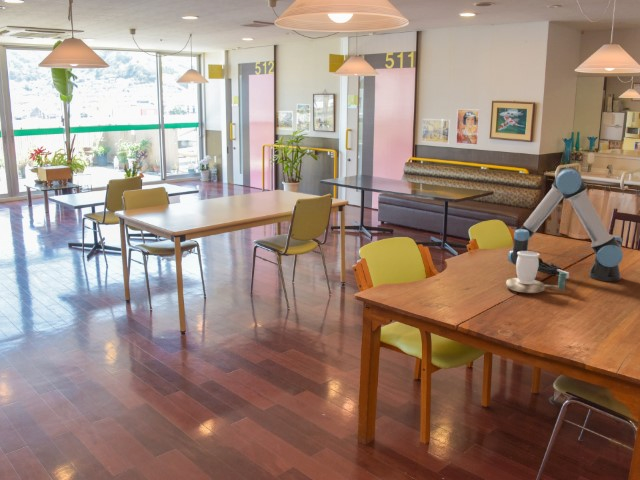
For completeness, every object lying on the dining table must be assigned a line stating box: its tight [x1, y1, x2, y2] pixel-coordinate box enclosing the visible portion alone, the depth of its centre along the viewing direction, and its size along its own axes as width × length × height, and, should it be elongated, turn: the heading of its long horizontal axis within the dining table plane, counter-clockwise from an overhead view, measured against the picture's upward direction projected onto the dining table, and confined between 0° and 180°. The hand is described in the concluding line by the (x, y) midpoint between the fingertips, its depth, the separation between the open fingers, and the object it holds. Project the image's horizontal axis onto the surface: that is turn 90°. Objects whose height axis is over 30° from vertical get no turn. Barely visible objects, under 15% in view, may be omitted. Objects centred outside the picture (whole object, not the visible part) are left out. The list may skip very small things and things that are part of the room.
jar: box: [515, 250, 540, 284], centre depth 299 cm, size 11×10×15 cm
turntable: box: [505, 272, 567, 294], centre depth 299 cm, size 27×18×8 cm, turn 81°
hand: (567, 275), depth 297 cm, fingers closed
